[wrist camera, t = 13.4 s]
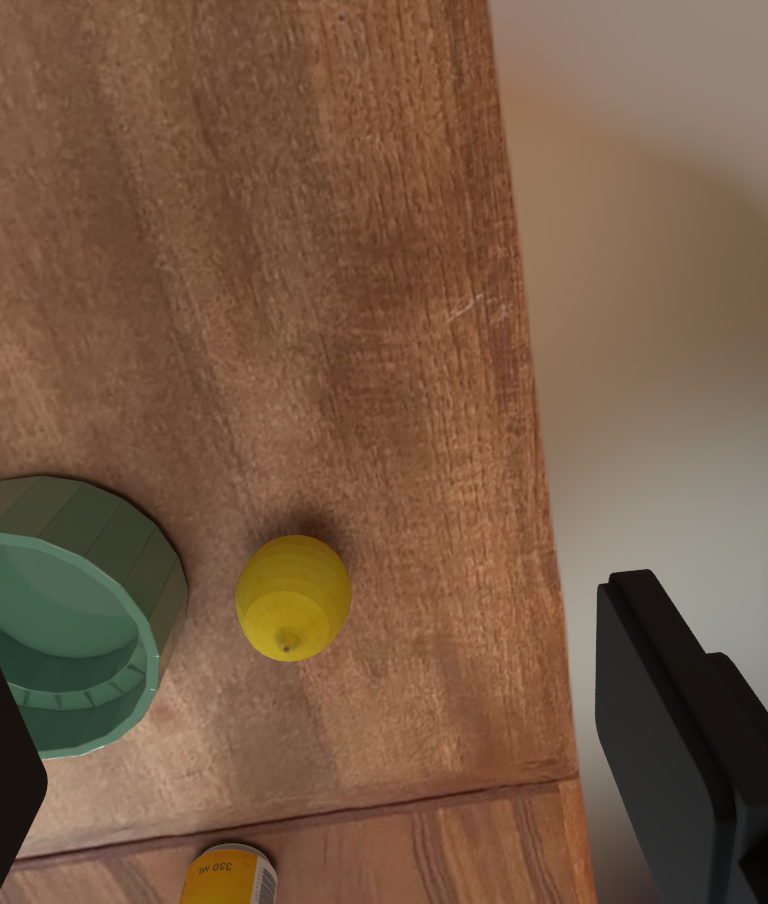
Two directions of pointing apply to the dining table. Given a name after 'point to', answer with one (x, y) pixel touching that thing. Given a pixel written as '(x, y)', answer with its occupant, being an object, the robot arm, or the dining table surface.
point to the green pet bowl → (83, 611)
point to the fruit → (293, 597)
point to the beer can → (230, 877)
